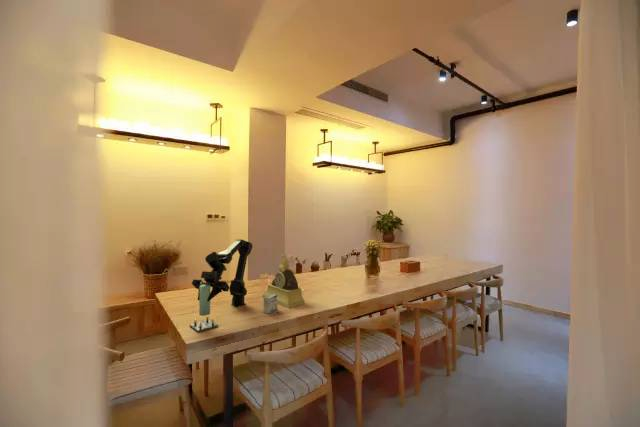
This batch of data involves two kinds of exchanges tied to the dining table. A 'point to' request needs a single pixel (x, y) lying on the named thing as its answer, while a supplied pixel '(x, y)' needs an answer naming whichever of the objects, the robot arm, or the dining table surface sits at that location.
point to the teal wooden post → (204, 300)
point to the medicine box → (270, 303)
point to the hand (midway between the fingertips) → (203, 300)
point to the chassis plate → (203, 325)
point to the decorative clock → (285, 287)
